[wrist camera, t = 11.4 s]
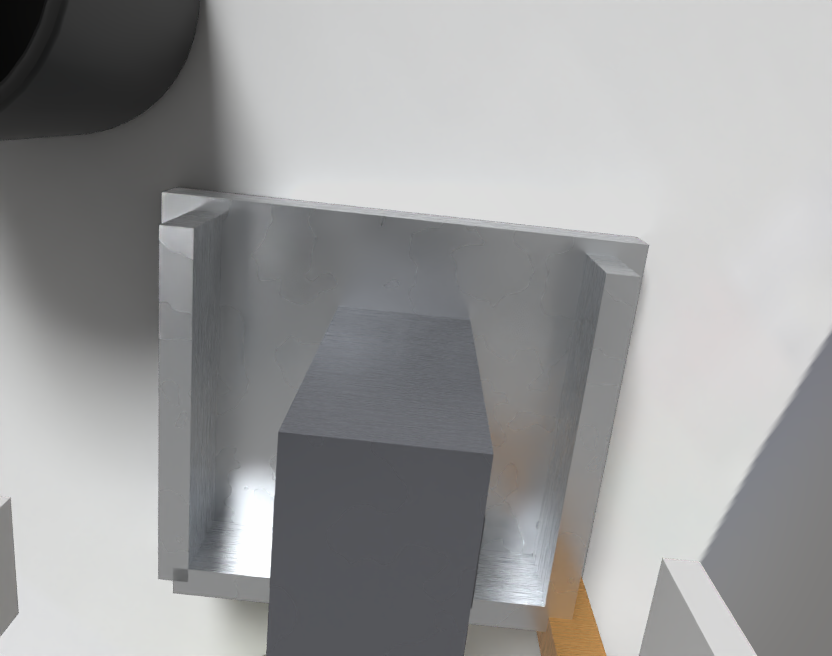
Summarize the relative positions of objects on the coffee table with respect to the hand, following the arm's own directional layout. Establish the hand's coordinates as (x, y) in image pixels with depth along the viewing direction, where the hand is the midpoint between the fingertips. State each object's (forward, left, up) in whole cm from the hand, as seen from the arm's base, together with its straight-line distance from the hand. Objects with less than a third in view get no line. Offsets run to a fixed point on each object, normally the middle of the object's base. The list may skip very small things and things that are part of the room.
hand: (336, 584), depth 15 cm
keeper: (0, -1, -13) cm, 13 cm away
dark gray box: (+1, 0, -11) cm, 11 cm away
